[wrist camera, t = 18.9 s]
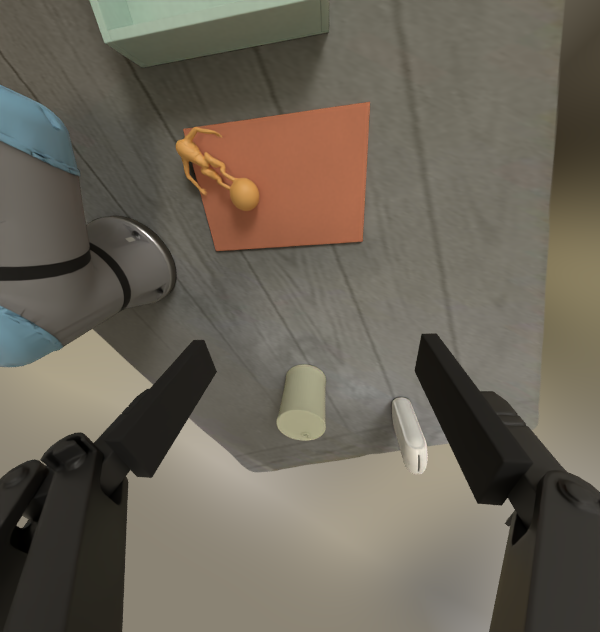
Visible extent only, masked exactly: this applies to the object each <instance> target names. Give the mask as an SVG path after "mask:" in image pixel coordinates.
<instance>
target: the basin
mask: <svg viewBox="0 0 600 632" xmlns="http://www.w3.org/2000/svg"><path fill="white" fill-rule="evenodd" d="M89 1H90V3H91V6H92V9H93V12H94V15H95V17H96V20H97V23H98V26H99V29H100V32H101V34H102V37H103V40H104V43H105V44H107V45H108V46H110V47H111V48H113V49H114V50H116V51H117V52H119V53H120V54H122V55H123V56H125V57H126V58H128V59H130V60H131V61H133V62H134V63H136V64H137V65H139V66H140V67H141V68H144V67H149V66H155V65H160V64H165V63H170V62H176V61H181V60H186V59H191V58H196V57H202V56H207V55H212V54H217V53H223V52H228V51H233V50H238V49H244V48H249V47H254V46H259V45H265V44H270V43H275V42H280V41H286V40H291V39H296V38H301V37H307V36H312V35H317V34H322V33H328V32H329V0H89Z"/></svg>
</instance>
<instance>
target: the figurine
mask: <svg viewBox="0 0 600 632" xmlns="http://www.w3.org/2000/svg"><path fill="white" fill-rule="evenodd" d="M197 132H200V133H205V134H215V135H216V136H217V137H221V138H222V135H220V134H219V133H217V132H216V131H213V130H209V129H202V128H199V127H194V128H193V129H192V130H191V131H190V132H189V134H188V135H186V136H185V138H184V139H183V140H179V141H177V143H176V150H177V152H178V154H179V155H180V156H181V157H182V161H183V164H184V170H185V175H186V177H187V178H188V179H189V180H190V181H191V182H192V183H193V184H194V185H195V186H196V187H197V188H198V189H199V190H200V192H201V193H202V194H204V195H205V194H206V193H207V192H206V191H204V190H206V189H201V188H200V186H199V185H198V184H197V182H196V181H195V180H194V179H193V178H192V177H191V176H190V174H189V161H190V162H192V163H194V164H197V165H199V166H201V167H202V168H201V173H202V174H204V175H206V176H208V177H210V178H212V179H214V180H217V183H218V184H219V185H221V186H222V187H224V188H226V189H228V190H229V191H230V198H231V200H232V202H233V204H234V205H235V206H236V207H237V208H238V209H240V210H243V211H250V210H252V209H254V208H255V207H256V206H257V204H258V202H259V190H258V188H257V186H256V185H255V184H254V183H253V182H252V181H251V180H249V179H247V178H234V177H232V176H230V175H228V174H227V173H225V172H226V169H225V164H224V163H223V162H221V161H219V160H217V159H215V158H213V157H212V156H211V155H209V154H208V153H207V152H205V153H204V156H203V155H202V153H201V152H200V150H199V148H198V146H197V145H196V144H195V143H194V142H193V141H192V140H193V139H194V137H195V135H196V133H197ZM209 164H210V165H212V166H213V167H215V168H217V167H220V172H221V173H222V174H223V175H224V176H225V177H226V178H228V179H229V180H231V181H232V182H233V183H232V185H231V187H230V186H228V185H226V184H224V183H222V179H221V177H220V176H219V175H218V174H217V173H216V171H215V170H214V169H212V168H208V167H210V165H209ZM206 195H207V194H206ZM206 195H205V196H206Z"/></svg>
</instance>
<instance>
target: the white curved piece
mask: <svg viewBox="0 0 600 632" xmlns="http://www.w3.org/2000/svg"><path fill="white" fill-rule="evenodd" d="M392 421H393V426H394V430H395V433H396V437H397V440H398V444H399V447H400V451H401V454H402V457H403V461H404V464H405V467H406V468H407V469H408V471H409V472H411V473H412V474H414V475H415V474H422V473H423V472H424V470H425V469H426V466H427V458H428V457H427V456H428V452H427V444H426V441H425V438H424V436H423V433H422V430H421V428H420V425H419V423H418V420H417V418H416V415H415V413H414V410H413V408H412V405H411V403H410V401H409V399H406V398H402V397H401V398H396V399H395V400H393V402H392Z"/></svg>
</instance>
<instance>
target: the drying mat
mask: <svg viewBox="0 0 600 632" xmlns="http://www.w3.org/2000/svg"><path fill="white" fill-rule="evenodd" d="M369 111H370V102H365V103H358V104H351V105H345V106H338V107H331V108H324V109H317V110H310V111H303V112H297V113H290V114H283V115H276V116H269V117H262V118H256V119H249V120H242V121H235V122H228V123H221V124H214V125H208V126H201V127H199V128H202V129H209V130H213V131H216V132H217V133H219V134H220V135H222V138H221V137H217V136H216V135H215V134H205V133H200V132H197V133H196V135H195V137H194V139H193V140H192V141H193V142H194V143H195V144H196V145H197V146H198V148H199V150H200V152H201V153H202V155H203V156H204V153H205V152H207V153H208V154H209V155H211V156H212V157H213V158H215V159H217V160H219V161H221V162H223V163H224V164H225V169H226V172H225V173H227V174H228V175H230V176H232V177H234V178H247V179H249V180H251V181H252V182H253V183H254V184H255V185H256V186H257V188H258V190H259V202H258V204H257V206H256V207H255V208H254V209H252V210H250V211H243V210H240V209H238V208H237V207H236V206H235V205H234V204H233V202H232V200H231V198H230V191H229V190H228V189H226V188H224V187H222V186H221V185H219V184H218V183H217V180H214V179H212V178H210V177H208V176H206V175H204V174H202V173H201V168H202V167H201V166H199V165H197V164H194V163H192V164H193V168H194V171H195V175H196V179H197V183H198V185H199V186H200V188H201V189H206V190H204V191H206V192H207V193H206V194H207V195H206V194H205V195H206V196H205V195H204V194H202V193H201V192H200V194H201V197H202V201H203V205H204V208H205V212H206V216H207V219H208V223H209V227H210V231H211V234H212V238H213V242H214V245H215V249H216V251H226V250H241V249H256V248H271V247H287V246H302V245H317V244H333V243H348V242H362V241H363V224H364V205H365V186H366V167H367V149H368V130H369ZM192 129H193V128H187V129H183V131H184V134H185V136H186V135H188V134H189V132H190V131H191V130H192ZM209 165H210V164H209ZM208 168H212V169H214V170H215V171H216V173H217V174H218V175H219V176H220V177H221V179H222V183H224V184H226V185H228V186H230V187H231V185H232V183H233V182H232V181H231V180H229V179H228V178H226V177H225V176H224V175H223V174H222V173H221V172H220V167H217V168H215V167H213V166H212V165H210V167H208Z"/></svg>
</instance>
